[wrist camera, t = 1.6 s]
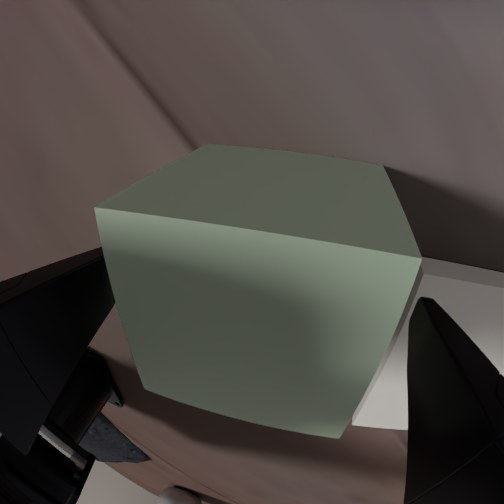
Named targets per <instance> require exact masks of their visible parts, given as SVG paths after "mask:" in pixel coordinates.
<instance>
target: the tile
mask: <svg viewBox="0 0 504 504" xmlns="http://www.w3.org/2000/svg"><path fill="white" fill-rule="evenodd" d="M420 297H428V298H433V299H434V300H435V301H436V302H437V303H438V304H439V305H440V306H441V307H442V308H443V309H444V310H445V311H446V312H447V313H448V315H449V316H450V317H451V318H452V319H453V320H454V321H455V322H456V323H457V324H458V325H459V326H460V327H461V328H462V330H463V331H464V332H465V333H466V334H467V335H468V336H469V337H470V338H471V339H472V341H473V342H474V343H475V344H476V345H477V346H478V347H479V348H480V350H481V351H482V352H483V353H484V354H485V355H486V356H487V358H488V359H489V360H490V361H491V362H492V363H493V365H494V366H495V367H496V368H497V369H498V371H499V372H500V374H502V375H503V377H504V273H502V272H497V271H493V270H488V269H483V268H478V267H473V266H468V265H463V264H458V263H452V262H447V261H442V260H437V259H432V258H426V257H422V261H421V264H420V267H419V270H418V273H417V276H416V278H415V281H414V284H413V287H412V289H411V292H410V295H409V297H408V300H407V302H406V305H405V308H404V310H403V313H402V315H401V317H400V320H399V322H398V325H397V327H396V329H395V332H394V334H393V336H392V339H391V341H390V343H389V345H388V347H387V350H386V352H385V354H384V356H383V358H382V360H381V362H380V365H379V367H378V369H377V371H376V373H375V375H374V377H373V379H372V381H371V383H370V385H369V387H368V389H367V390H366V392H365V394H364V396H363V398H362V400H361V402H360V404H359V405H358V407H357V409H356V411H355V413H354V414H353V418H352V425H356V426H365V427H375V428H387V429H400V430H408V390H407V356H408V325H409V320H410V317H411V315H412V312H413V310H414V308H415V305H416V303H417V300H418V299H419V298H420Z"/></svg>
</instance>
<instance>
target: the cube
mask: <svg viewBox="0 0 504 504" xmlns="http://www.w3.org/2000/svg"><path fill="white" fill-rule="evenodd" d="M94 209H95V215H96V220H97V225H98V230H99V235H100V240H101V245H102V249H103V254H104V258H105V263H106V267H107V271H108V275H109V279H110V283H111V287H112V291H113V294H114V298H115V302H116V305H117V309H118V312H119V316H120V319H121V322H122V326H123V329H124V332H125V335H126V338H127V341H128V345H129V348H130V351H131V354H132V356H133V359H134V362H135V365H136V368H137V371H138V373H139V376H140V379H141V381H142V384H143V387H144V389H145V390H148V391H150V392H153V393H156V394H159V395H161V396H164V397H167V398H170V399H173V400H176V401H179V402H182V403H185V404H188V405H191V406H194V407H197V408H200V409H204V410H207V411H210V412H214V413H217V414H221V415H224V416H228V417H232V418H236V419H239V420H243V421H247V422H251V423H256V424H260V425H264V426H269V427H273V428H278V429H283V430H288V431H293V432H299V433H304V434H310V435H316V436H323V437H330V438H337V439H339V438H340V436H341V435H342V433H343V431H344V430H345V428H346V426H347V425H348V423H349V421H350V420H351V418H352V416H353V414H354V413H355V411H356V409H357V407H358V405H359V404H360V402H361V400H362V398H363V396H364V394H365V392H366V390H367V389H368V387H369V385H370V383H371V381H372V379H373V377H374V375H375V373H376V371H377V369H378V367H379V365H380V362H381V360H382V358H383V356H384V354H385V352H386V350H387V347H388V345H389V343H390V341H391V339H392V336H393V334H394V332H395V329H396V327H397V325H398V322H399V320H400V317H401V315H402V313H403V310H404V308H405V305H406V302H407V300H408V297H409V295H410V292H411V289H412V287H413V284H414V281H415V278H416V276H417V273H418V270H419V267H420V264H421V261H422V257H421V254H420V251H419V248H418V246H417V243H416V240H415V238H414V235H413V233H412V230H411V228H410V225H409V223H408V220H407V218H406V215H405V213H404V211H403V208H402V206H401V204H400V201H399V199H398V197H397V195H396V192H395V190H394V188H393V186H392V184H391V181H390V179H389V177H388V175H387V173H386V171H385V169H384V167H383V166H382V165H377V164H372V163H366V162H361V161H355V160H349V159H343V158H336V157H330V156H323V155H316V154H308V153H301V152H293V151H284V150H275V149H265V148H255V147H243V146H230V145H216V144H206V145H204V146H202V147H200V148H198V149H196V150H194V151H192V152H190V153H188V154H186V155H185V156H183V157H181V158H179V159H177V160H175V161H173V162H171V163H169V164H167V165H166V166H164V167H162V168H160V169H158V170H156V171H155V172H153V173H151V174H149V175H147V176H146V177H144V178H142V179H140V180H139V181H137V182H135V183H133V184H132V185H130V186H128V187H127V188H125V189H123V190H122V191H120V192H118V193H117V194H115V195H113V196H112V197H110V198H108V199H107V200H105V201H104V202H102V203H100V204H99V205H97V206H96V207H94Z"/></svg>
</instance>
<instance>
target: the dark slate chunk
mask: <svg viewBox="0 0 504 504" xmlns="http://www.w3.org/2000/svg"><path fill="white" fill-rule="evenodd" d="M79 446H81V447H82V448H83V449H85V450H86V451H87V452H90V453H92V454H93V455H95V456H96V459H95V460H97V461H101V462H133V463H139V462H144V461H148V460H149V458H148V456H147V455H146V454H145V453H144V452H143V451H142V450H141V449H139V448H138V447H137V446H136V445H134V444H133V443H132V442H131V441H130V440H129V439H128V438H127V437H126V436H125V435H124V434H123V433H121V432H120V431H119V430H118V429H117V428H116V427H115V426H114V425H113V424H112V423H111V422H110V421H109V420H108V419H107V418H106V417H105V416H104V415H103V414H102V413H101V412H100V413H99V414H98V416H97V417H96V419H95V420H94V422H93V424H92V425H91V427H90V428H89V430H88V431H87V433H86V434H85V436H84V437H83V439H82V440H81V442H80V443H79Z"/></svg>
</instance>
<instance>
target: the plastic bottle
mask: <svg viewBox="0 0 504 504" xmlns="http://www.w3.org/2000/svg"><path fill="white" fill-rule="evenodd" d="M157 504H202V501H201V499H200V498H198V497H197V496H195V495H193V494H192V493H190V492H188V491H186V490H183V489H179V488H174V487H167V488H165V489H164V490H163V491H162V493H161V494H160V495H159V499H158V502H157Z"/></svg>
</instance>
